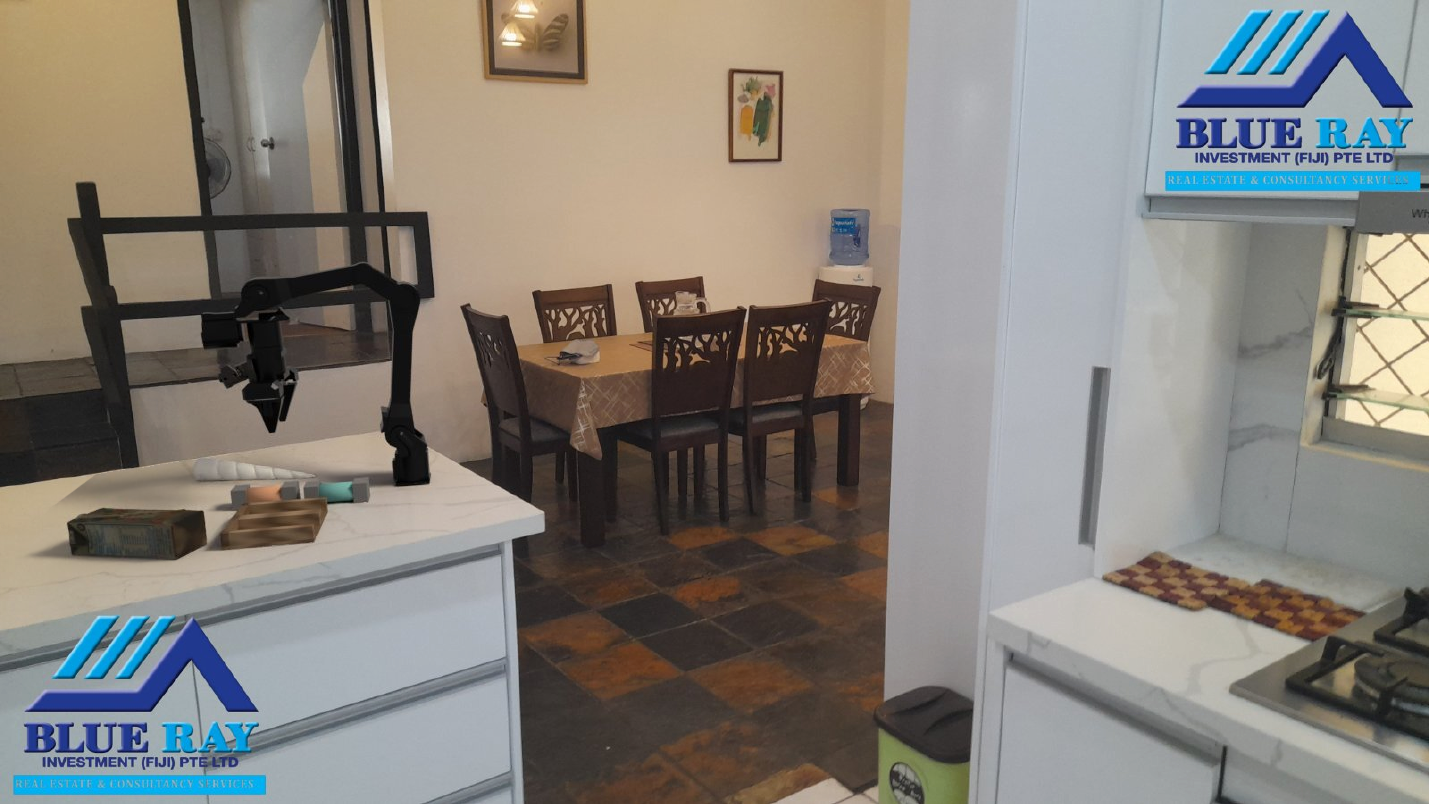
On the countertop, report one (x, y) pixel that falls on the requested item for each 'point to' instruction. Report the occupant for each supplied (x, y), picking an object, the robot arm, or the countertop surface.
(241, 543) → the wooden tray
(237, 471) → the unicorn horn
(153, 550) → the beverage carton
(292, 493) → the orange capped cylinder
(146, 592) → the countertop surface
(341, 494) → the teal capped cylinder
